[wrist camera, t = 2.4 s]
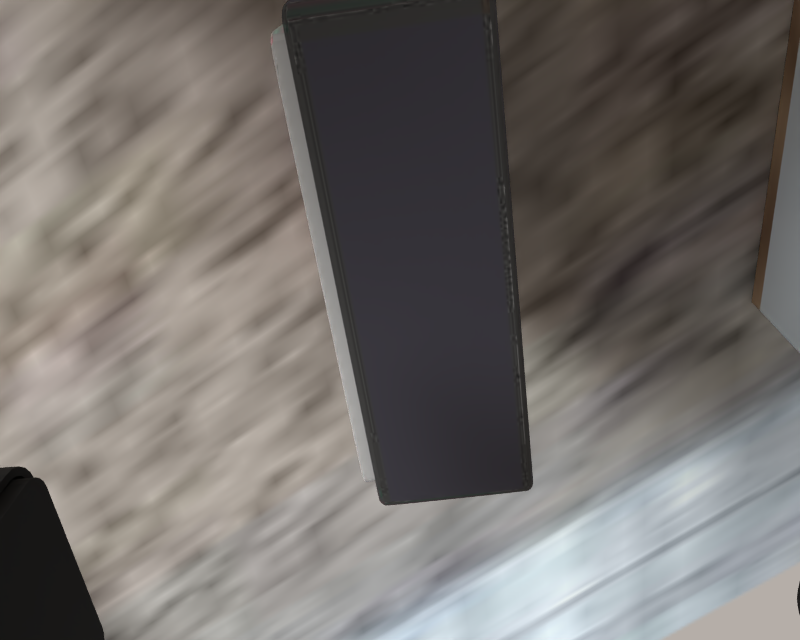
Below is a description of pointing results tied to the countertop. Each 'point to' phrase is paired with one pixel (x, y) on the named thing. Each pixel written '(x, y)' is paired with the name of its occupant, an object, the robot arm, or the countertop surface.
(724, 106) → the countertop surface
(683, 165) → the countertop surface
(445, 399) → the tall charcoal block
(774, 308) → the grey tray
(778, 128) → the pen board
